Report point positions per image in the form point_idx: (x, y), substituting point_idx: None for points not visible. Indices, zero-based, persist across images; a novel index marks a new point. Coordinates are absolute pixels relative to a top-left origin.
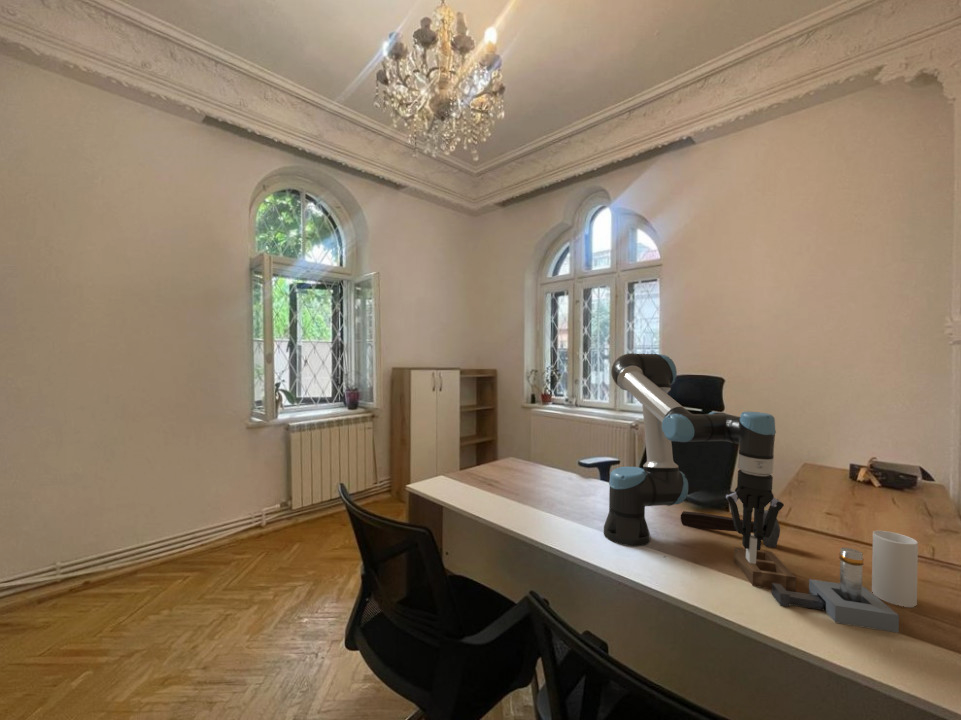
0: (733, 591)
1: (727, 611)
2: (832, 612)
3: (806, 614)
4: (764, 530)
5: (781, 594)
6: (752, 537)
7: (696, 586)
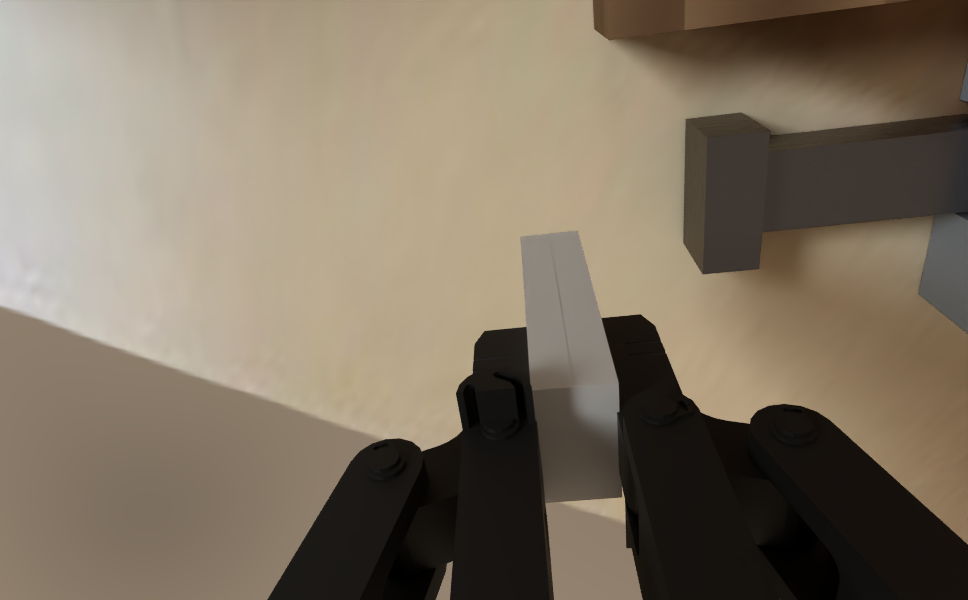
0: (447, 175)
1: (391, 393)
2: (947, 286)
3: (797, 270)
4: (786, 508)
5: (707, 272)
6: (576, 473)
7: (236, 208)
